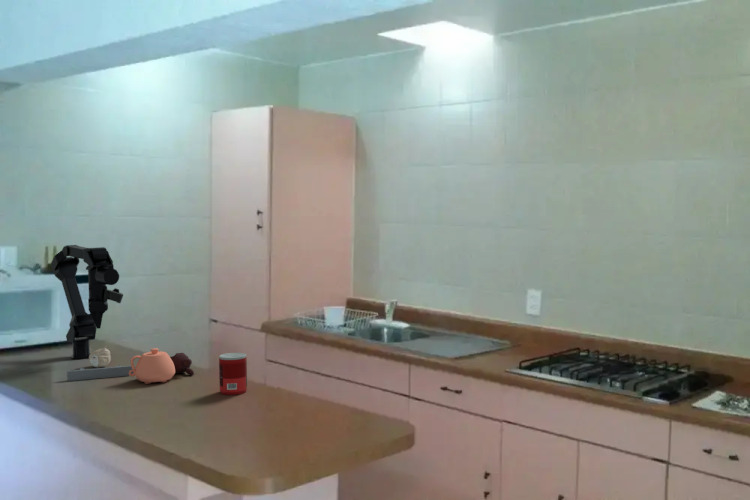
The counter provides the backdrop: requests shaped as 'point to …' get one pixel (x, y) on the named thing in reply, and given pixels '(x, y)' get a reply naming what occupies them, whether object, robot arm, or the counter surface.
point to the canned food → (233, 373)
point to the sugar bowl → (153, 367)
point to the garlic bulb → (100, 357)
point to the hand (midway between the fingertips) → (98, 327)
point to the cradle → (98, 373)
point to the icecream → (182, 363)
